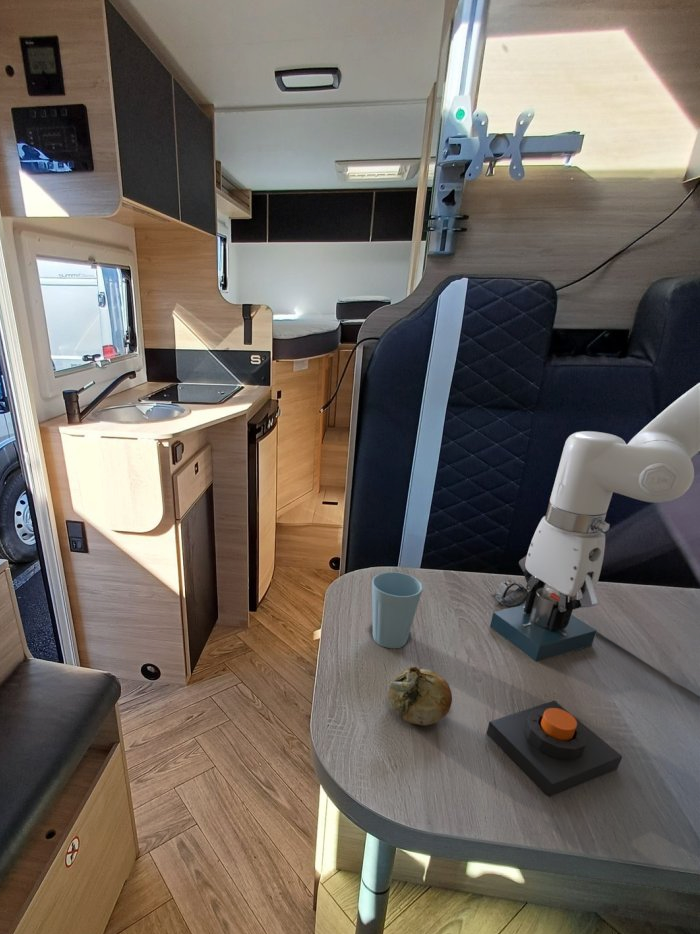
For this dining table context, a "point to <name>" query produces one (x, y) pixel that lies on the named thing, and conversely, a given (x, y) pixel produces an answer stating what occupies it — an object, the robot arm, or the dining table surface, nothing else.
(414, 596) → the cup
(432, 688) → the onion
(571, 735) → the button
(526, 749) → the button base
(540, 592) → the temp dial
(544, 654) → the dial panel
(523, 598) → the wristwatch
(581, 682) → the dining table surface
